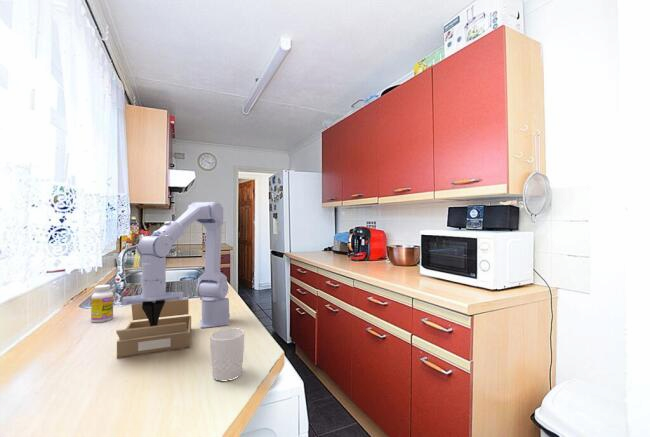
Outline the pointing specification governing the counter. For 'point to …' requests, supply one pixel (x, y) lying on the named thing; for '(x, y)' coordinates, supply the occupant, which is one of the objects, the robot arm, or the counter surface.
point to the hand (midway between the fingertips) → (154, 328)
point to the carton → (155, 339)
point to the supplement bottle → (102, 304)
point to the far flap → (163, 309)
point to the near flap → (151, 331)
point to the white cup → (227, 353)
